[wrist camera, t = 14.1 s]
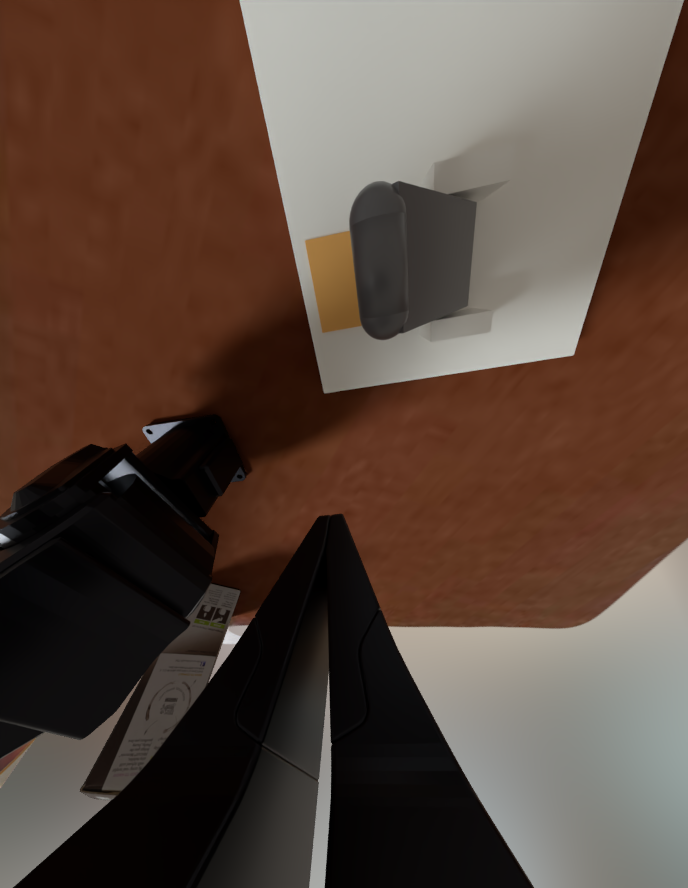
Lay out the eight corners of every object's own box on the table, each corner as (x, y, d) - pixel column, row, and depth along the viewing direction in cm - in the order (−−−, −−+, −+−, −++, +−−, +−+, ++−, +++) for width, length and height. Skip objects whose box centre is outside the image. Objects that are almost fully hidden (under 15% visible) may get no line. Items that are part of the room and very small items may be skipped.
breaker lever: (441, 311, 14) (353, 345, 10) (444, 211, 12) (332, 191, 7) (474, 307, 13) (393, 345, 8) (485, 196, 11) (382, 163, 6)
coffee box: (193, 578, 32) (75, 793, 18) (242, 589, 33) (167, 798, 19) (187, 609, 36) (89, 801, 23) (230, 618, 38) (163, 806, 24)
